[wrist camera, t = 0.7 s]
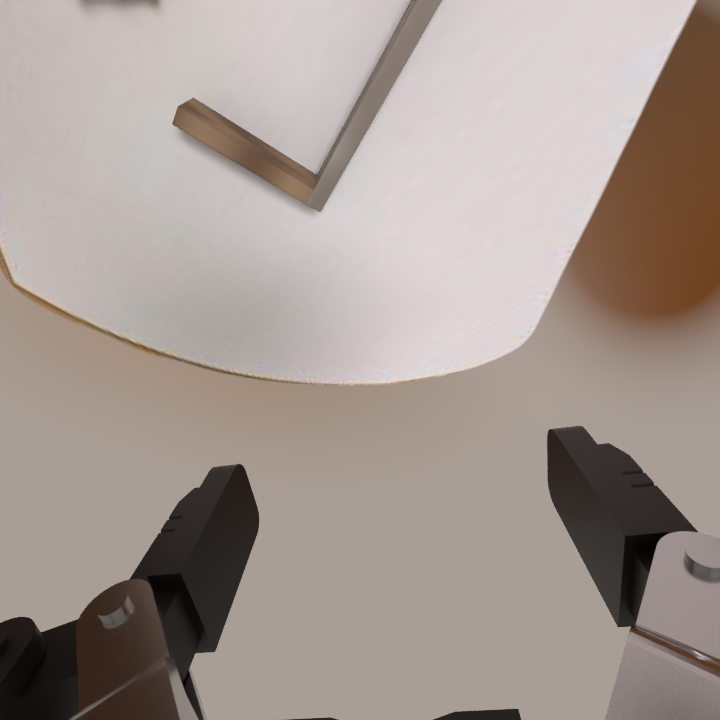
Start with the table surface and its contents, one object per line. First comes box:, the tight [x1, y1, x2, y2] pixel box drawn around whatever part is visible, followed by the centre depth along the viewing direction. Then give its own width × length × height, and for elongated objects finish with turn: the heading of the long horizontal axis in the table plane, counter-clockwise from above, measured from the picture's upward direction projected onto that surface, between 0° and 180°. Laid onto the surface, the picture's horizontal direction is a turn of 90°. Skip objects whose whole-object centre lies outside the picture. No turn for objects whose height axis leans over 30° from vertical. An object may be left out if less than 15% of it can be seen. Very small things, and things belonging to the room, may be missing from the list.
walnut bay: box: [173, 0, 442, 212], centre depth 27 cm, size 11×18×4 cm, turn 148°
